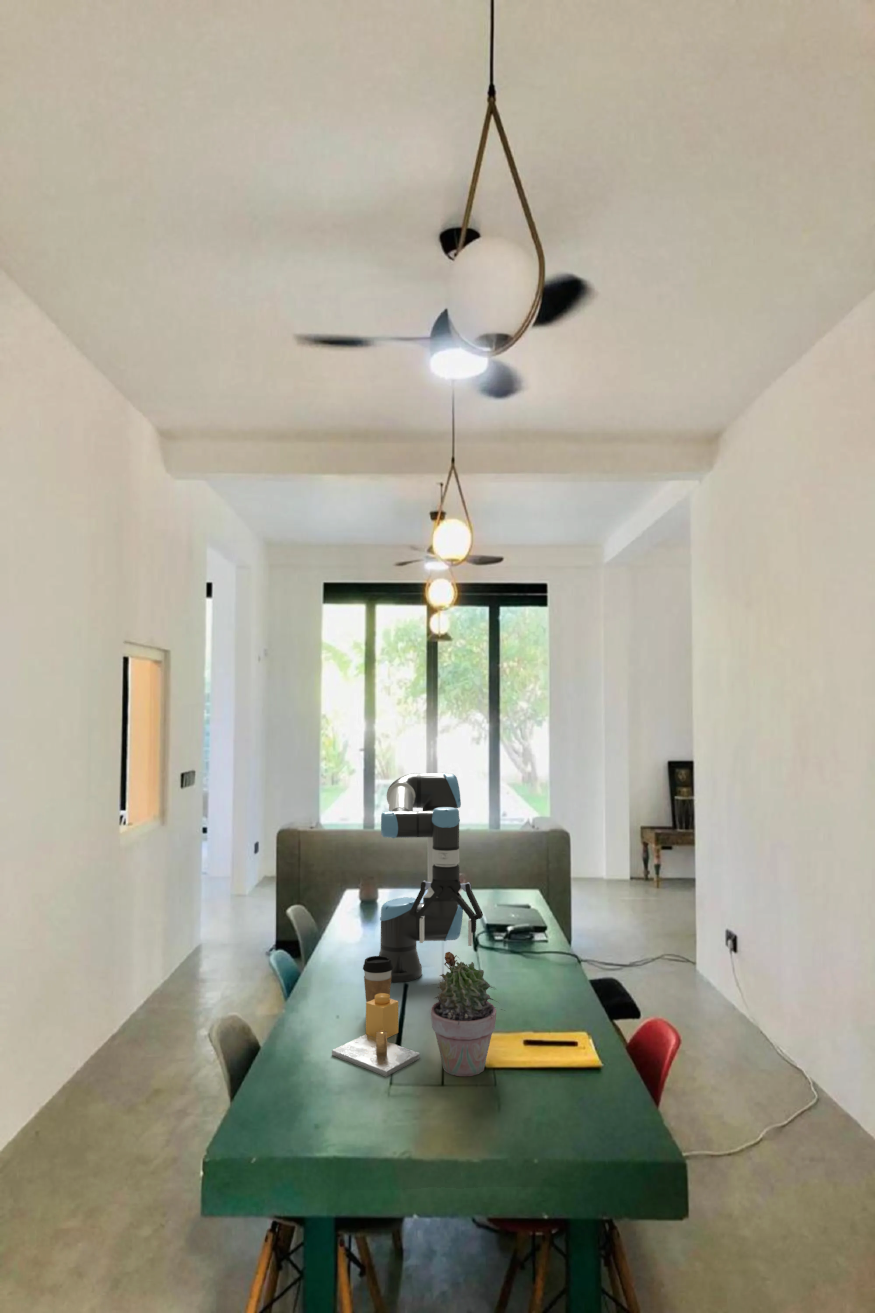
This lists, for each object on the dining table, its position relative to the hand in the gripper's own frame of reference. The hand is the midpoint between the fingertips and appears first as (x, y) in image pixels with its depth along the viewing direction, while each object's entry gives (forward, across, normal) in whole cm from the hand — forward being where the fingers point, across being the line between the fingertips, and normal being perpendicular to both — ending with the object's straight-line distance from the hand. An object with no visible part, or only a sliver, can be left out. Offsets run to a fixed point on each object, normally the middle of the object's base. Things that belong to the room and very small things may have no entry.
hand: (446, 943), depth 207 cm
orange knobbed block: (+21, -15, -12) cm, 28 cm away
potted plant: (+21, +10, -26) cm, 35 cm away
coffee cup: (+21, -20, +1) cm, 29 cm away
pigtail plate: (+21, -13, -25) cm, 35 cm away
